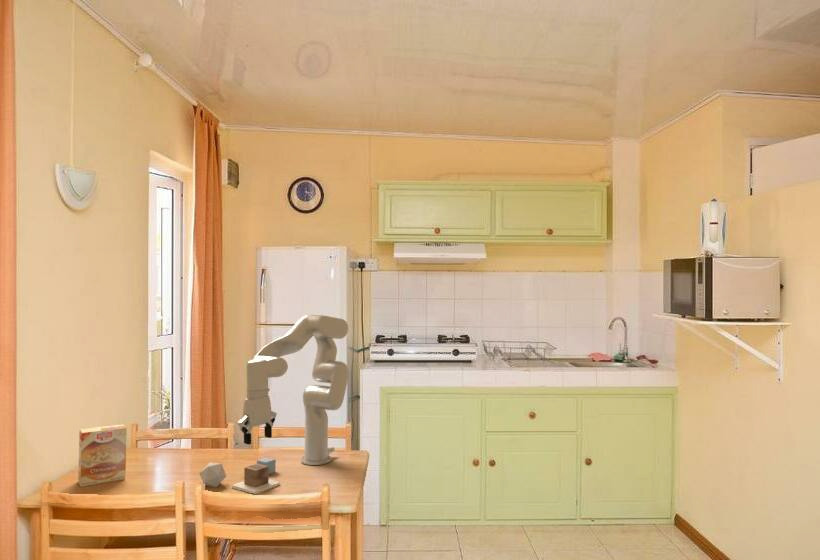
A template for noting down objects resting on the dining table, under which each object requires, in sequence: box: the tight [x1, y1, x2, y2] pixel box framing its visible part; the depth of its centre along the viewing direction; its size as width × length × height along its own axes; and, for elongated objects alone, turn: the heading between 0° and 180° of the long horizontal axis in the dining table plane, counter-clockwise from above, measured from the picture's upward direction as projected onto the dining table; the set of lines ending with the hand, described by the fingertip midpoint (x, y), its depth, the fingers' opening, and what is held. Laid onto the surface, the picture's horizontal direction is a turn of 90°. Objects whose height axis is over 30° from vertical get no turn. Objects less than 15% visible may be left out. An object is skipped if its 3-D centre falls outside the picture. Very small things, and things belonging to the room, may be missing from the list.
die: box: [199, 461, 227, 488], centre depth 205 cm, size 8×9×10 cm
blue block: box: [256, 456, 277, 475], centre depth 220 cm, size 5×5×5 cm
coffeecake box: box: [77, 423, 127, 488], centre depth 209 cm, size 15×7×20 cm, turn 126°
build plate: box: [231, 478, 281, 495], centre depth 204 cm, size 12×12×1 cm
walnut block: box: [243, 463, 270, 488], centre depth 204 cm, size 6×6×6 cm
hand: (258, 440), depth 205 cm, fingers open, 9 cm apart
